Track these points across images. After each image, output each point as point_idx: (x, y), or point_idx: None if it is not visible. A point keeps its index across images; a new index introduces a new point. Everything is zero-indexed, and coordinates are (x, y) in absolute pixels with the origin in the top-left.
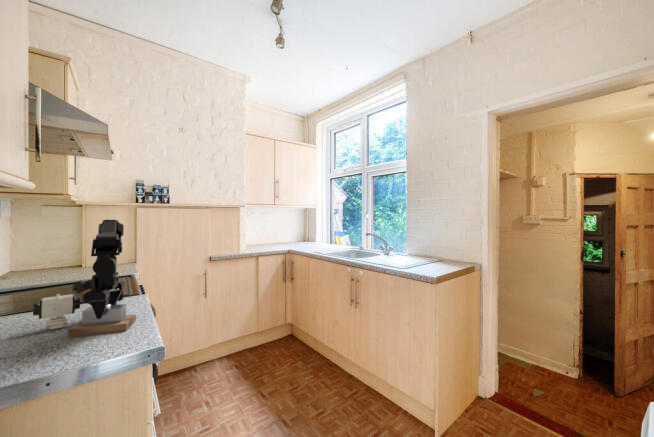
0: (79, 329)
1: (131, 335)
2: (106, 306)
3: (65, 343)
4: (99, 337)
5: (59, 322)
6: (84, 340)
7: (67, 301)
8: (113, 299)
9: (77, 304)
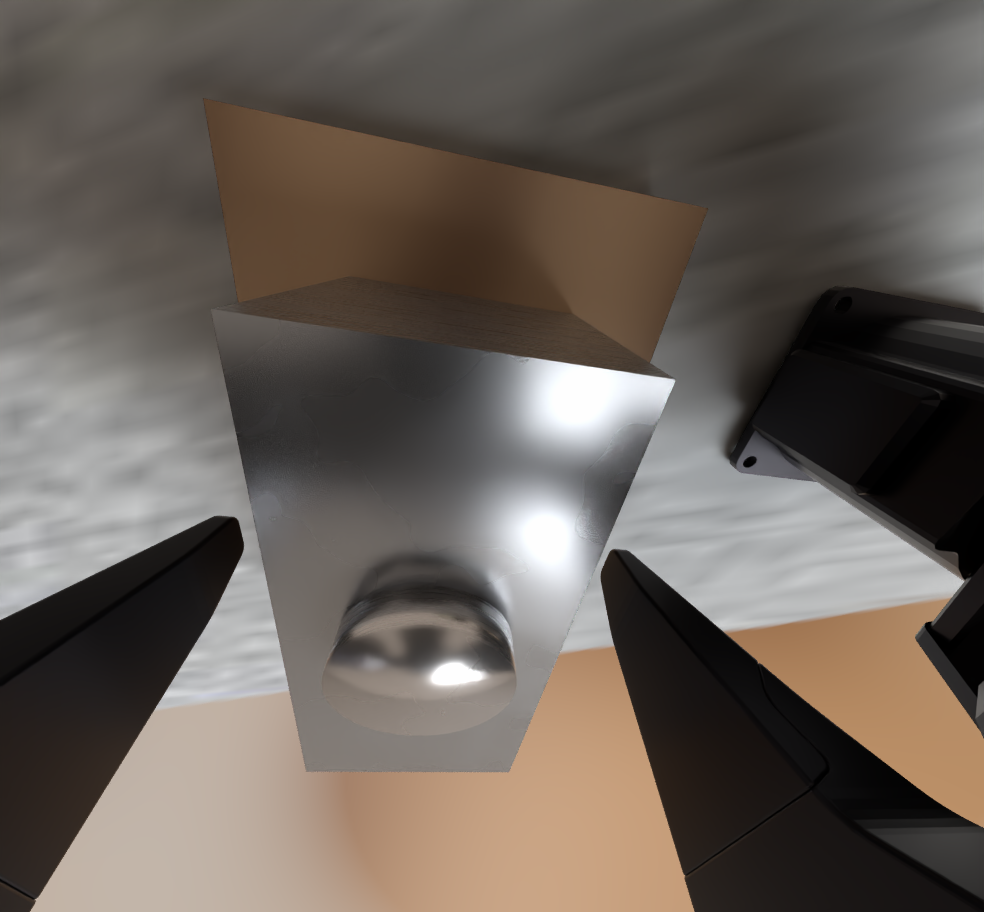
0: (242, 276)
1: (217, 622)
2: (343, 702)
3: (49, 178)
4: (207, 461)
5: None
6: (140, 361)
7: None
8: (682, 763)
9: None
